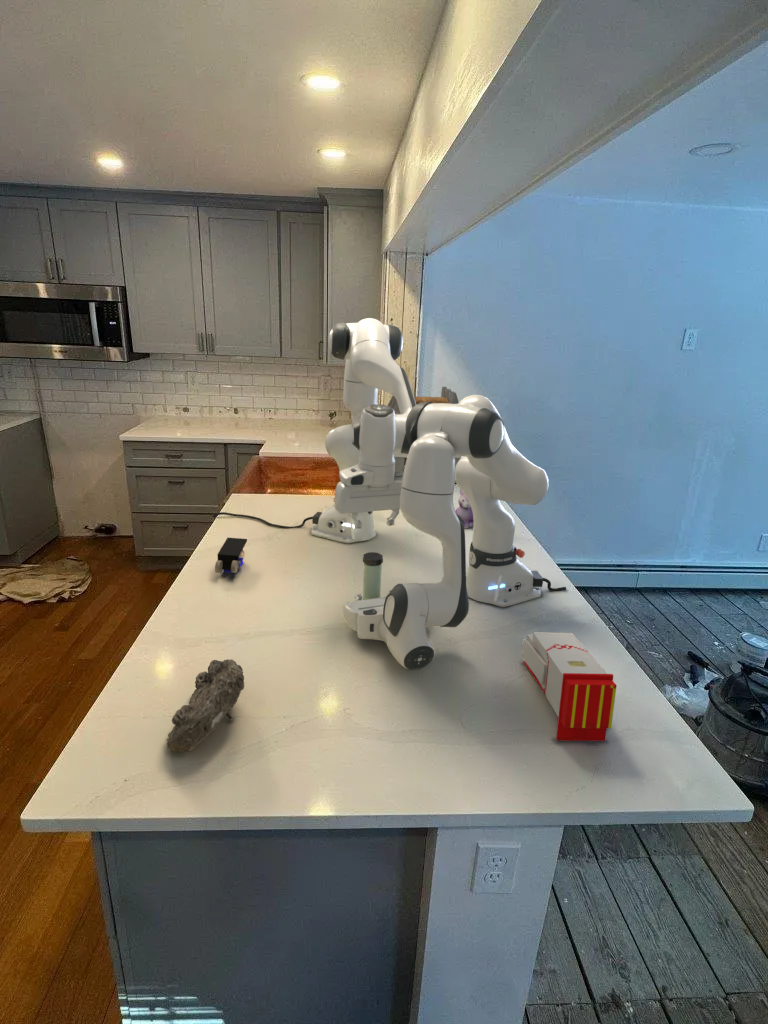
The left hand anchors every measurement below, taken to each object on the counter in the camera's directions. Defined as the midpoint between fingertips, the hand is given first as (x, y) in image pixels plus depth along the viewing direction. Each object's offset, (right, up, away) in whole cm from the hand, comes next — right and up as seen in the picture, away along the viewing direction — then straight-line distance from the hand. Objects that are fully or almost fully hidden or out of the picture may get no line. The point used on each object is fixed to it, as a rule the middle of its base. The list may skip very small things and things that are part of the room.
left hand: (374, 526), depth 142 cm
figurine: (+33, -1, +69) cm, 76 cm away
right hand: (0, -18, +4) cm, 18 cm away
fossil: (-30, -35, -34) cm, 58 cm away
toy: (+39, -35, -23) cm, 57 cm away
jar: (-1, -22, +8) cm, 23 cm away
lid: (0, -8, +3) cm, 8 cm away
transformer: (+20, +22, +133) cm, 136 cm away
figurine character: (-42, -13, +25) cm, 51 cm away
